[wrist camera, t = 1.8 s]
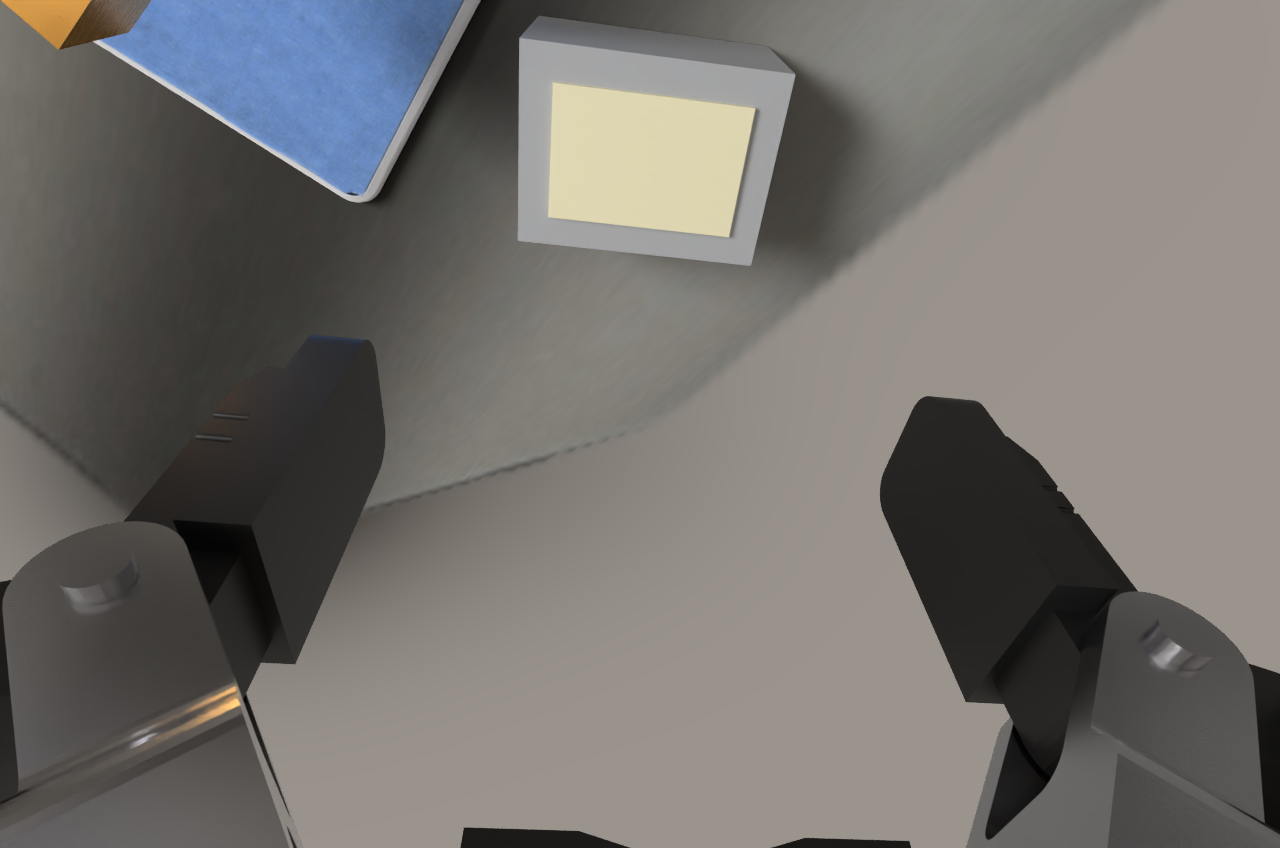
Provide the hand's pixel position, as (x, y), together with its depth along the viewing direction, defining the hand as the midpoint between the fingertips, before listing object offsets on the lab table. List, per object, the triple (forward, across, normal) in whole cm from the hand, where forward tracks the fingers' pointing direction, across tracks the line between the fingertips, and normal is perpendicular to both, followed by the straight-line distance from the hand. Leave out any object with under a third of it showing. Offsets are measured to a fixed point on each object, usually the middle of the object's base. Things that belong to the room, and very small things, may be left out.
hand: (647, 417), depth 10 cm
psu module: (+19, 0, 0) cm, 19 cm away
